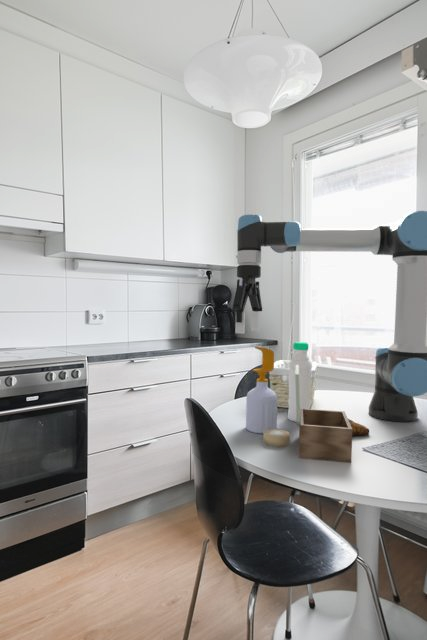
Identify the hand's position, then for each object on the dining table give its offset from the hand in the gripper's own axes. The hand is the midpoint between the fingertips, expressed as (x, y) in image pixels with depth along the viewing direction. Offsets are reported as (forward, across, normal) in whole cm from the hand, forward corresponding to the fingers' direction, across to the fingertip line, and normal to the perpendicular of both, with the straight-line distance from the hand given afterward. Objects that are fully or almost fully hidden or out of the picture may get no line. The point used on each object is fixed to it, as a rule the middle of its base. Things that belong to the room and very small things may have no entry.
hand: (247, 332), depth 128 cm
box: (+28, +16, +27) cm, 42 cm away
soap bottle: (+28, +8, +8) cm, 30 cm away
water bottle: (+28, -7, +15) cm, 33 cm away
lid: (+14, +17, +21) cm, 30 cm away
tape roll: (+28, +16, +15) cm, 36 cm away
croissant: (+29, 0, +30) cm, 42 cm away
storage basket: (+28, -30, +8) cm, 42 cm away
